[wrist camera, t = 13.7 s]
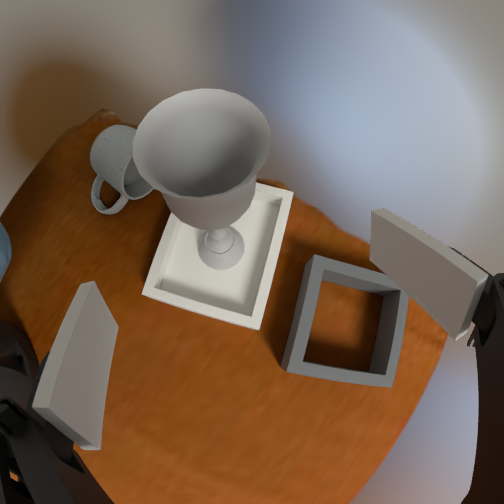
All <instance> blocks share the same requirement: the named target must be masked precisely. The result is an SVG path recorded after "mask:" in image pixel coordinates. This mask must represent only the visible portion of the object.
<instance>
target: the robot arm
mask: <svg viewBox="0 0 504 504" xmlns="http://www.w3.org/2000/svg"><path fill="white" fill-rule="evenodd" d="M11 257H12V245H11V241H10V238H9V236H8V234H7V232H6V230H5V228H4V227H3V225H2V223H1V222H0V283H1V281H2V279H3V276H4V274H5V272H6V270H7V268H8V265H9V263H10V261H11ZM369 260H370V261H371V262H372V263H373V264H375V265H376V266H377V267H378V268H379V269H380V270H381V271H383V272H384V273H385V274H386V275H387V276H388V277H389V278H390V279H391V280H393V281H394V282H395V283H396V284H397V285H398V286H399V287H400V288H401V289H402V290H404V291H405V292H406V293H407V294H408V295H409V296H410V297H411V298H412V299H413V300H414V301H415V302H416V303H417V304H418V305H420V306H421V307H422V308H423V309H424V310H425V311H426V312H427V313H428V314H429V315H430V316H431V317H432V318H433V319H434V320H435V321H436V322H437V323H438V324H439V325H440V326H441V327H442V328H443V329H444V330H445V331H446V332H447V333H448V334H449V335H450V336H451V337H452V338H453V339H454V340H457V339H458V338H460V337H461V336H463V335H464V334H465V333H466V332H467V330H468V328H469V326H470V323H471V321H472V322H473V323H474V324H475V327H474V330H473V332H472V334H471V336H470V338H469V340H468V342H467V346H470V344H471V342H472V340H473V339H474V343H473V347H475V349H476V358H477V369H478V391H479V417H478V437H477V449H476V457H475V465H474V471H473V477H472V483H471V487H470V490H469V493H468V494H467V496H466V497H465V498H464V499H463V501H462V502H461V504H504V273H498V274H496V275H495V276H492V275H491V274H490V273H488V272H487V271H485V270H484V269H483V268H481V267H480V266H478V265H477V264H476V263H474V262H473V261H471V260H469V259H468V258H467V257H465V256H464V255H463V256H462V254H461V253H460V252H458V251H457V250H455V249H454V248H451V247H448V246H446V245H445V244H443V243H442V242H440V241H439V240H437V239H435V238H434V237H432V236H430V235H429V234H427V233H426V232H424V231H422V230H421V229H419V228H417V227H416V226H414V225H412V224H411V223H409V222H407V221H406V220H404V219H402V218H400V217H399V216H397V215H395V214H393V213H391V212H390V211H388V210H386V209H384V208H382V209H377V210H373V211H371V240H370V258H369ZM117 332H118V325H117V323H116V322H115V320H114V318H113V316H112V314H111V313H110V311H109V309H108V307H107V305H106V303H105V301H104V299H103V298H102V296H101V294H100V292H99V290H98V288H97V286H96V284H95V282H94V281H91V282H87V283H84V284H81V285H80V287H79V288H78V290H77V292H76V294H75V296H74V299H73V301H72V303H71V305H70V307H69V309H68V311H67V313H66V315H65V318H64V320H63V322H62V324H61V327H60V329H59V331H58V334H57V336H56V338H55V341H54V343H53V346H52V348H51V351H50V352H48V353H47V355H46V356H45V357H44V359H43V360H42V362H41V364H40V367H39V365H38V361H37V358H36V355H35V353H34V351H33V348H32V346H31V344H30V343H29V341H28V339H27V338H26V336H25V335H24V333H23V332H22V331H21V330H20V329H19V328H18V327H17V326H15V325H14V324H12V323H10V322H6V321H1V320H0V430H1V431H0V504H114V503H113V501H112V500H111V499H110V498H109V497H108V495H107V494H106V493H105V492H104V490H103V489H102V488H101V486H100V485H99V484H98V482H97V481H96V480H95V478H94V477H93V475H92V474H91V473H90V471H89V470H88V468H87V467H86V465H85V464H84V462H83V461H82V459H81V458H80V456H79V455H78V453H77V452H76V451H75V450H73V443H75V444H77V445H78V446H79V447H81V448H82V449H84V450H101V437H102V426H103V416H104V407H105V400H106V392H107V385H108V379H109V373H110V367H111V362H112V356H113V351H114V346H115V341H116V336H117ZM9 471H10V472H12V473H13V474H15V475H17V476H18V482H17V481H15V480H13V479H12V478H10V472H9Z"/></svg>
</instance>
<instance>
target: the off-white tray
mask: <svg viewBox="0 0 504 504" xmlns="http://www.w3.org/2000/svg"><path fill="white" fill-rule="evenodd" d="M292 197H293V192H290V191H287V190H283V189H279V188H275V187H272V186H268V185H264V184H260V183H256V187H255V195H254V197H253V200H252V202H251V205H250V207H249V208H248V210H247V211H246V212H245V213H244V214H243V215H242V216H241V218H240V219H238V220H237V221H236V222H234V223H233V224H231V225H229V226H230V227H233V228H234V229H236V230H237V231H238V232H239V233H240V235H241V236H242V238H243V241H244V245H245V247H244V254H243V256H242V258H241V260H240V261H239V262H238V263H237V264H236V265H235V266H233V267H231V268H229V269H225V270H216V269H213V268H210V267H208V266H207V265H206V264H205V263H204V262H202V260H201V258H200V256H199V253H198V241H199V239H200V237H201V235H202V234H203V233H204V232H205V231H206V230H201V229H197V228H194V227H192V226H190V225H188V224H185V223H183V222H181V221H180V220H179V219H178V218H177V217H176V216H175V215H174V214H173V213H172V212H171V214H170V217H169V219H168V222H167V224H166V227H165V230H164V232H163V235H162V237H161V240H160V243H159V245H158V248H157V251H156V254H155V256H154V259H153V262H152V265H151V268H150V271H149V274H148V277H147V279H146V282H145V286H144V289H143V292H142V294H143V295H145V296H147V297H149V298H152V299H155V300H158V301H161V302H164V303H167V304H170V305H173V306H176V307H179V308H182V309H185V310H188V311H191V312H195V313H198V314H201V315H204V316H208V317H211V318H214V319H218V320H221V321H225V322H228V323H232V324H236V325H239V326H243V327H247V328H250V329H254V330H259V329H260V325H261V321H262V318H263V314H264V310H265V306H266V302H267V299H268V295H269V291H270V287H271V283H272V279H273V275H274V271H275V267H276V263H277V259H278V255H279V251H280V247H281V243H282V239H283V235H284V231H285V227H286V222H287V218H288V214H289V210H290V205H291V201H292Z"/></svg>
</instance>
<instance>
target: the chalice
mask: <svg viewBox="0 0 504 504" xmlns="http://www.w3.org/2000/svg"><path fill="white" fill-rule="evenodd" d="M270 149H271V131H270V128H269V126H268V123H267V121H266V119H265V116H264V115H263V114H262V113H261V111H260V110H259V109H258V108H257V107H256V106H255V105H254V104H253V103H252V102H250V101H248V100H247V99H245V98H243V97H241V96H239V95H238V94H235V93H231V92H228V91H224V90H221V89H196V90H191V91H186V92H181V93H179V94H176V95H174V96H172V97H170V98H168V99H166V100H163V101H162V102H161V103H160V104H158V105H157V106H156V107H154V108H153V109H152V110H151V111H149V112H148V114H147V115H146V116H145V118H144V119H143V121H142V122H141V123H140V124H139V126H138V128H137V131H136V134H135V137H134V140H133V160H134V162H135V165H136V167H137V169H138V171H139V174H140V175H141V176H142V177H143V178H144V179H145V180H146V181H147V182H148V183H149V184H150V185H151V186H152V187H153V188H154V189H156V190H159V191H160V192H161V193H162V195H163V197H164V199H165V201H166V203H167V205H168V207H169V209H170V211H171V212H172V213H173V214H174V215H175V216H176V217H177V218H178V219H179V220H180V221H181V222H183V223H185V224H188V225H190V226H192V227H194V228H197V229H201V230H206V231H205V232H204V233H203V234H202V235H201V237H200V239H199V241H198V253H199V256H200V258H201V260H202V262H204V263H205V264H206V265H207V266H208V267H210V268H213V269H216V270H225V269H229V268H231V267H233V266H235V265H236V264H237V263H238V262H239V261H240V260H241V258H242V256H243V254H244V247H245V245H244V241H243V238H242V236H241V235H240V233H239V232H238V231H237V230H236V229H234V228H233V227H230V226H229V225H231V224H233V223H234V222H236V221H237V220H238V219H240V218H241V216H242V215H243V214H244V213H245V212H246V211H247V210H248V208H249V207H250V205H251V202H252V200H253V197H254V195H255V187H256V178H257V173H258V172H259V171H260V169H261V168H262V167H263V166H264V164H265V162H266V159H267V157H268V154H269V151H270Z"/></svg>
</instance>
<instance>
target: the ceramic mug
mask: <svg viewBox="0 0 504 504" xmlns="http://www.w3.org/2000/svg"><path fill="white" fill-rule="evenodd" d="M136 131H137V130H136V129H134V128H132V127H129V126H125V125H112V126H110V127H108V128H106V129H104V130H103V131H102V132H101V133H100V134H99V135H98V136H97V137H96V139H95V140H94V142H93V144H92V147H91V150H90V163H91V166H92V168H93V169H94V171H95V172H96V173H97V176H96V178H95V180H94V183H93V186H92V190H91V199H92V203H93V205H94V207H95V208H96V209H97V210H98V211H99V212H100V213H102V214H115V213H117V212H119V211H120V210H121V209H122V208H123V207H124V206H125V204H126V203H127V202H128V200H129V199H131V200H137V199H140V198H143V197H145V196H146V195H148V194H149V193H150V192H151V191H152V190H153V189H154V188H153V187H152V186H151V185H150V184H149V183H148V182H147V181H146V180H145V179H144V178H143V177H142V176H141V175H140V174H139V171H138V169H137V167H136V165H135V162H134V160H133V140H134V137H135V134H136ZM104 180H105V181H106V182H108V183H109V184H110V185H111V186H112V187H113V188H115V189H116V190H117V191H118V192H120V193H121V196H120V198H119V200H118V201H117V202H116V203H115V204H114V205H113V206H112V207H111V208H109V209H107V208H106V207H105V206H104V204H103V203H102V200H100V190H101V186H102V183H103V181H104Z"/></svg>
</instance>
